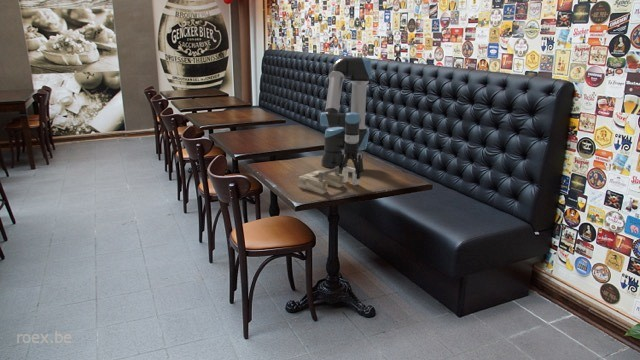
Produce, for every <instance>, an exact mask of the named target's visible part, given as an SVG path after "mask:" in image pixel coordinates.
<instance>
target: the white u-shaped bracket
mask: <svg viewBox="0 0 640 360" xmlns="http://www.w3.org/2000/svg"><path fill="white" fill-rule="evenodd" d="M349 173H352V176H351V177H352V180H351V181H352V182H351V185H352V186H356V185H355V173H356V170H355V167H351V166H347V165H346V167H343V175H344V184H346V183H348V182H349Z"/></svg>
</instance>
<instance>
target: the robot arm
mask: <svg viewBox="0 0 640 360" xmlns="http://www.w3.org/2000/svg"><path fill="white" fill-rule="evenodd" d="M372 67H373V66H372V62H371V59H370V58H367V57H346V56H345V57H342V58H340V59H338V60H336V61H335V62H334V63H333V65H332V66H331V67H330V68H329V72H328V80H329V82H328V89H327V97H326V101H325V110H324V112H323V111H322V112H320V116H319V124H320V126H321V127H328V128H326V130H325V131H324V152H323V156H322V159H321V163H320V164H321V166H322V167H324V168H331V169H334V168H335V167H337V166H338V167H339V170H340V174H341V175H343V167H346V166H347V165H348V162H349V161H351V162H352V163H353V166H354V167H353V168H355V170H356V173H355V185H354V186H357V185H359V183H360V178H361V174H362V173H364V161H363V157H364V154H363V153H362V154H360V153H359V151H361V150H363V151H364V150H366V149H367V145H368V141H369V137H370V136H369V135H370V131H369V130H368V127H367V126H366V122H365V121H366V107H367V106H366V105H367V104H366V103H367V88H368V87H367V85H368V84H369V82H370V79H371V80H372V79H373V70H372ZM345 79H349V82H350V84H351V99H350V100H351V102H350V111H349V112H345V113H343V112H340V111H339V110H340V104H341V96H342V88H343V87H342V86H343V82H344V81H345Z"/></svg>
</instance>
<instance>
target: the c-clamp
mask: <svg viewBox="0 0 640 360" xmlns="http://www.w3.org/2000/svg"><path fill="white" fill-rule="evenodd" d="M344 184H345V183H344V175H341V173H340V168H339V167H338V166H337V167H335V168H331V169H328V170H324V169H316V170H314V171H311V172H309V173H306V174H302V175H299V176H298V188H300V189H304V190H307V191H311V192H314V193H318V194H320V195H324V194H325V193H328V186H331V187H336V188H342V187H343V186H344Z"/></svg>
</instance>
